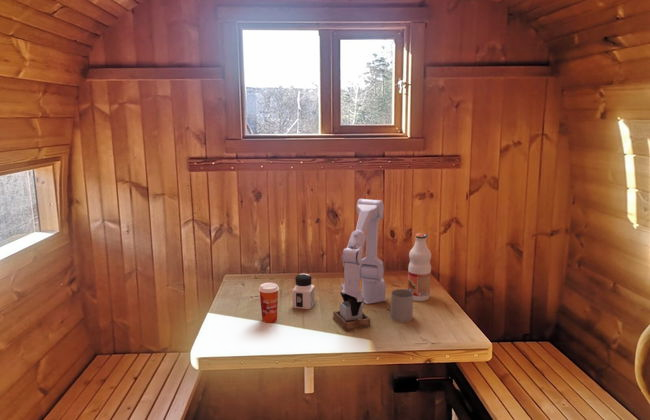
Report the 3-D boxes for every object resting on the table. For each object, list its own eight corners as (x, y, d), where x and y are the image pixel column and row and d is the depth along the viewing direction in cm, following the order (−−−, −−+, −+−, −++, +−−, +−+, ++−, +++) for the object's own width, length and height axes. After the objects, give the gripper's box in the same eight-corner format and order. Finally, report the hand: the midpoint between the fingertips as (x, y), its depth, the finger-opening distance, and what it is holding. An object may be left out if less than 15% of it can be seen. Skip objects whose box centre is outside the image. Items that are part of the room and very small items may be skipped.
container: (310, 309, 202) (310, 279, 199) (292, 308, 203) (291, 277, 200) (314, 302, 209) (314, 272, 206) (297, 300, 211) (296, 271, 208)
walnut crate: (356, 314, 197) (357, 307, 196) (370, 326, 187) (370, 318, 186) (333, 318, 193) (333, 311, 192) (345, 330, 183) (345, 323, 182)
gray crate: (356, 312, 193) (356, 299, 192) (362, 318, 189) (362, 304, 187) (339, 315, 190) (340, 302, 189) (345, 321, 186) (345, 307, 185)
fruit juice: (427, 303, 208) (430, 238, 202) (405, 300, 211) (407, 236, 205) (430, 294, 216) (433, 232, 210) (409, 292, 219) (411, 230, 213)
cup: (414, 314, 197) (414, 290, 195) (410, 323, 189) (411, 298, 187) (392, 311, 200) (393, 288, 197) (388, 320, 192) (389, 295, 190)
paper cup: (263, 325, 187) (262, 290, 184) (256, 318, 194) (255, 284, 191) (283, 321, 191) (282, 287, 188) (275, 314, 198) (274, 280, 194)
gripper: (334, 274, 191) (334, 307, 194) (350, 287, 178) (350, 322, 181) (350, 271, 194) (350, 304, 197) (368, 284, 181) (367, 318, 184)
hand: (351, 312), depth 189 cm, fingers closed on gray crate, 5 cm apart
